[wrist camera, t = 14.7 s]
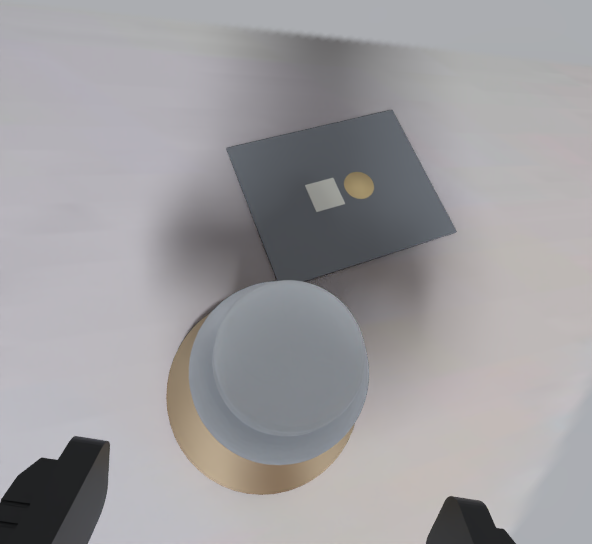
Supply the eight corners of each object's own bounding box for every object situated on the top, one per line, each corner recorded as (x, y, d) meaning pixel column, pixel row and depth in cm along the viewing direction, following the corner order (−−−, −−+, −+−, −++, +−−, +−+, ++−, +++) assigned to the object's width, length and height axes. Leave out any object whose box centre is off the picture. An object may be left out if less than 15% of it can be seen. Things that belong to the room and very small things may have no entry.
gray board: (280, 290, 24) (281, 288, 23) (226, 151, 26) (226, 147, 26) (453, 234, 26) (457, 231, 26) (390, 113, 29) (392, 109, 28)
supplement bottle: (325, 341, 22) (400, 267, 13) (315, 462, 20) (397, 483, 11) (212, 326, 22) (202, 236, 12) (190, 449, 20) (158, 458, 10)
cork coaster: (201, 528, 19) (200, 531, 19) (145, 332, 22) (143, 330, 21) (385, 446, 21) (389, 446, 21) (315, 277, 24) (317, 273, 23)
